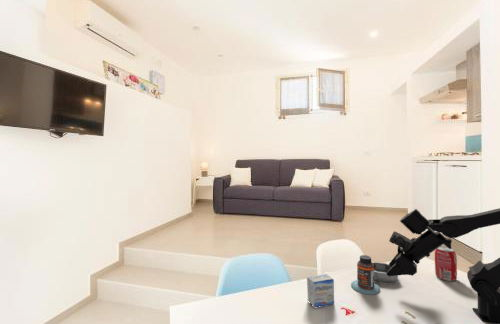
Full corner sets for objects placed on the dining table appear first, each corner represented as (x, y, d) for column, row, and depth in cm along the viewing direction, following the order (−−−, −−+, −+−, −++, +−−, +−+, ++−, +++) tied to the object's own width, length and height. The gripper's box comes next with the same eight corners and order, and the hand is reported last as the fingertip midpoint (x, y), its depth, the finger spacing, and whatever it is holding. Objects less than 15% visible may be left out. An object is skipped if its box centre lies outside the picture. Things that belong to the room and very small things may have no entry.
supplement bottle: (355, 287, 95) (354, 257, 95) (360, 281, 99) (359, 252, 99) (371, 292, 91) (371, 261, 91) (376, 286, 95) (375, 256, 95)
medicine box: (313, 308, 82) (313, 282, 82) (307, 301, 87) (306, 276, 87) (334, 304, 84) (334, 279, 84) (327, 297, 89) (326, 273, 89)
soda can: (449, 274, 104) (448, 245, 104) (461, 282, 97) (461, 251, 97) (431, 274, 105) (430, 245, 105) (442, 282, 98) (441, 251, 98)
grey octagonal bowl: (399, 285, 96) (399, 275, 96) (368, 281, 100) (368, 271, 100) (394, 273, 106) (394, 264, 106) (366, 270, 110) (366, 261, 110)
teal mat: (381, 296, 89) (381, 295, 89) (351, 291, 92) (351, 290, 92) (378, 283, 98) (378, 282, 98) (350, 279, 102) (350, 278, 102)
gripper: (405, 220, 96) (374, 244, 102) (403, 232, 80) (366, 259, 86) (431, 244, 91) (397, 267, 97) (434, 261, 76) (393, 288, 82)
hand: (388, 269), depth 91 cm, fingers open, 9 cm apart
